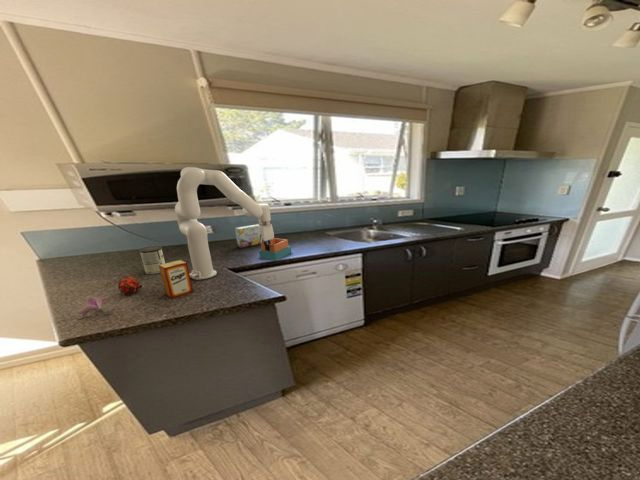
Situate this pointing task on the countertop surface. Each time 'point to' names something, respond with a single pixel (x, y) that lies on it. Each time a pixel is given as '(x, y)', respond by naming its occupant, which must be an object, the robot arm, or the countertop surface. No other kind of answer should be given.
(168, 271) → the baking soda box
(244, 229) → the snack box
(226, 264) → the countertop surface
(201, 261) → the robot arm
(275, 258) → the lower bin
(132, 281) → the dragon fruit
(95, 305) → the lily
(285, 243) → the upper bin
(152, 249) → the coffee can
